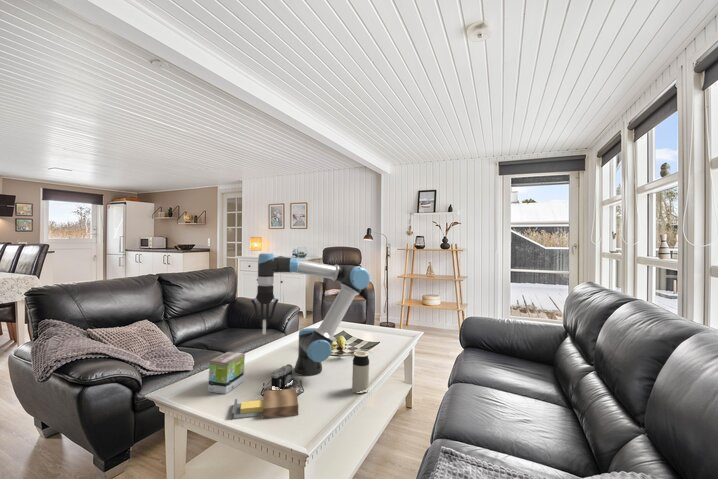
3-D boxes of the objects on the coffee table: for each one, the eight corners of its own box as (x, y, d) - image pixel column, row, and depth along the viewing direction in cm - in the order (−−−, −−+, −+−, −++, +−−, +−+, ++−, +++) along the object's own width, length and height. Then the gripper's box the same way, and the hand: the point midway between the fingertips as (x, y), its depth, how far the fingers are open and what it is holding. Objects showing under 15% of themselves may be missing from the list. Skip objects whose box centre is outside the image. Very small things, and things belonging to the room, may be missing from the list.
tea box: (226, 394, 153) (227, 362, 153) (207, 392, 155) (208, 360, 155) (244, 381, 168) (245, 352, 168) (226, 379, 170) (227, 350, 170)
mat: (263, 402, 146) (264, 396, 146) (263, 416, 135) (263, 409, 135) (235, 404, 143) (235, 399, 143) (231, 419, 132) (231, 412, 132)
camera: (281, 395, 154) (281, 373, 154) (269, 392, 156) (269, 371, 156) (298, 383, 167) (299, 363, 167) (287, 380, 170) (287, 361, 170)
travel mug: (356, 395, 155) (357, 356, 155) (349, 388, 162) (350, 351, 162) (371, 392, 159) (372, 354, 159) (363, 385, 166) (364, 349, 166)
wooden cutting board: (295, 397, 152) (295, 388, 152) (298, 414, 136) (298, 405, 136) (263, 400, 148) (264, 391, 148) (262, 418, 133) (263, 408, 133)
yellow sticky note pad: (263, 404, 143) (263, 399, 143) (263, 411, 138) (263, 406, 138) (241, 406, 141) (241, 402, 141) (240, 413, 135) (240, 408, 135)
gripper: (279, 283, 167) (277, 330, 166) (252, 284, 163) (250, 332, 163) (279, 285, 159) (278, 334, 159) (251, 286, 156) (249, 336, 156)
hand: (264, 333), depth 161 cm, fingers closed
